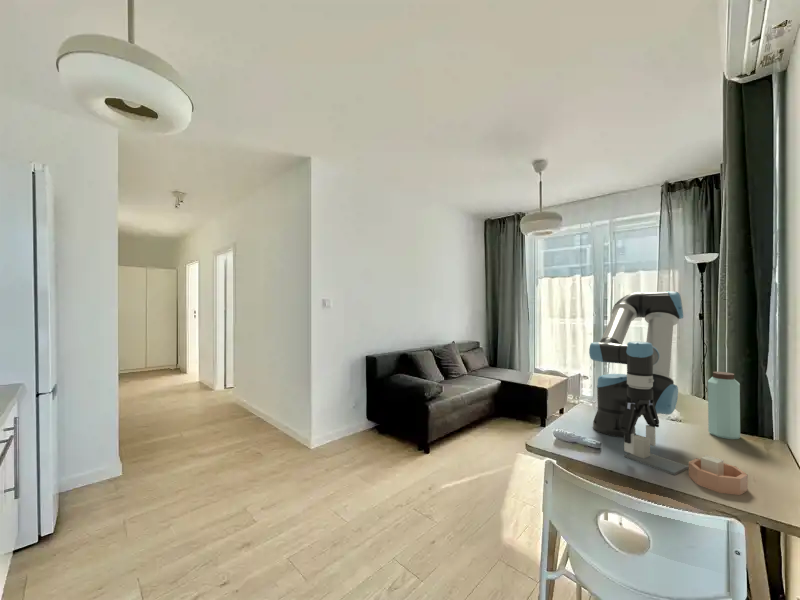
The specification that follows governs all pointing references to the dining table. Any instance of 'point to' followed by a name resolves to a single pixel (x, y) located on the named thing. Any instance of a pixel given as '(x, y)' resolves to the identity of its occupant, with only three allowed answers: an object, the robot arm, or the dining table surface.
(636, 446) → the stone
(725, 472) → the bowl
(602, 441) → the dining table surface
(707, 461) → the stone
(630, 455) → the slate board
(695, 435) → the dining table surface
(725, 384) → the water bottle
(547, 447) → the dining table surface
